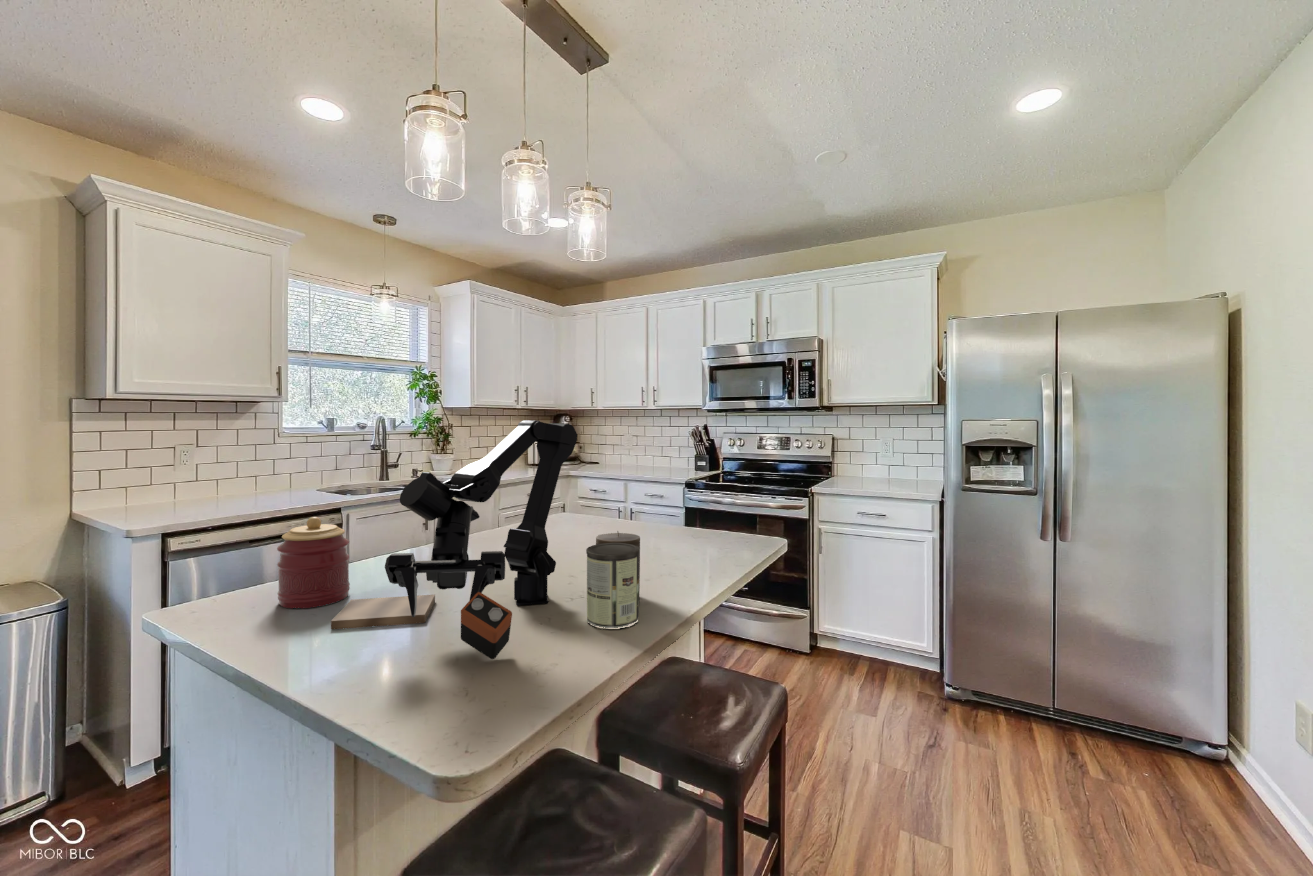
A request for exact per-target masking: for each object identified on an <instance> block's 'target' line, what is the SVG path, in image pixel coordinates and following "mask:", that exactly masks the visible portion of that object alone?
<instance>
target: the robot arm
mask: <svg viewBox="0 0 1313 876" xmlns="http://www.w3.org/2000/svg"><path fill="white" fill-rule="evenodd" d="M577 441H578V433H577V430H576V429H575V427H574V426H573V425H572V424H571V423H549V422H548V423H547V422H542V421H540V420H533V419H532V420H529V419H525V420H522V421H520V422H518V424H517V426H516V428H514V429H513V430H512V431H511V432H510V433H509V434H508V435H506V437H505V438H503V439H502V440H501V441H500V442H499V443H498V444H497V445H496V446H495V447H494V448H493V449H492V450H490V451H489V452H488V453H487V454H486V455H485V456H484V457H483V458H481V459H479V460H476V461H474V462H471V463H469V464H467V465H466V466H464V467H462V468H461V469H459V470H457V471H456V472H455V473H454V474H453V475H452V476H451V478H450V479H447V480H445V481H443V482H442V481H440V480H439V479H438V478H437V477H436V476H435V475H434V474H432V473H431V472H426V471H425V472H424V471H423V472H421V473H420V475H419V476H418V477H416V478H415V479H412V481H410V482H409V483H408V484H407V485H405V486H404V488H402V491H401V493H400V496H399V503H400V505H401V506H403V507H405V508H407V509H408V510H410V511H411V512H413V513H414V514H416V515H418V516H419V517H421V518H423V519H424V520H425V521H429V522H430V521H434V520H436V519H437V520H436V527H435V534H434V539H433V545H432V552H431V559H430V560H416V558H415V554H414V552H407V553H405V552H404V553H403V552H399V553H393V552H392V553H391V554H390V555H388V556H387V557H386V560H385V562H384V563H385V564H384V570H385V573H386V576H387V578H388V582H389V584H393V585H396V584H397V585H398V586H399V587H401V588H405V589H406V593H407V596H408V599H409V605H410V610H411V615H412V617H415V613H416V607H417V596H418V588H419V582H418V579H417V577H418V576H417V575H418V574H425V575H426V582H432V583H433V584H434V583H436V587H437V588H438V589H439V590H446V589H448V590H449V589H457V590H462V589H464V588H465V587H466V583H467V577H468V573H469V572H471V573H474V575H473V578H472V579H473V580H472V585H471V589H470V594H469V595H470V596H469V601H470V600H471V599H472V598H473V597H474V595H475V594H476V593H478V592H480V593H482V594H483V591H484V590H485V588H486V587H487V586H488V585H493V584H495V581H503V580H505V579H506V562H508V566H509V570H510V571H511V572H517V574H516V576H517V577H516V576H515V577H514V580H513V590H514V591H513V592H514V593H513V594H514V595H513V596H514V597H513V598H514V600H515V601H516V602H515V603H516V606H525V605H528V606H529V605H540V604H541V605H545V604H548V603H549V597H548V576H551V574H552V573H554V572H555V569H556V565H557V562H556V560H555V559H554V557H552V556H551V555H550V554H549V553H548V548H549V547H548V546H549V539H548V536H547V531H546V525H547V521H548V519H549V518H548V517H549V513H550V509H551V505H552V502H553V499H554V495H555V491H556V487H557V484H558V480H559V476H560V474H561V473H560V472H561V468H562V466H563V464H564V463H565V461H567V460H568V458H569V457H570V456H571V455H572V453H573V452H574V449H575V447H576V444H577ZM534 443H536V449H537V453H538V458H539V462H538V464H537V467H536V472H535V474H534V479H533V482H532V486H531V489H530V493H529V497H528V499H527V500H528V501H527V503H526V506H525V511H524V514H523V517H522V520H521V523H520V524H519V525H518V526H517V527H516V528H513V527H511V528H510V529H508V531H507V532H508V533H507V537H506V540H505V543H504V545H503V548H504V552H503V551H502V550H501V551H500V550H498V551H497V550H495V551H494V550H492V551H491V550H490V551H481V552H480V559H470V558H469V553H468V548H469V539H470V531H471V522H473V521H475V520H479V518H480V514H479V513H478V512H477V511H476V510H475V508H474V506H473V505H472V506H471V505H469V504H468V503H466V502H474V503H486V502H487V501H488V500H490V499H491V498H492V496H493V495H494V494H495V492H496V490H498V488H499V487H500V485H501V478H502V476H503V475H504V474H505V472H506V471H507V470H508V469H509V468H510V467H512V465H513V464H515V462H516V461H517V460H519V458H521V456H523V454H524V453H525V452H526V451H528V450H529V448H531V446H533V445H534ZM465 501H466V502H465ZM469 601H468V602H469Z"/></svg>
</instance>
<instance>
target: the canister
mask: <svg viewBox="0 0 1313 876" xmlns="http://www.w3.org/2000/svg"><path fill="white" fill-rule="evenodd" d="M345 533H346V531H345V529H343V528H341V527H339V526H338V525H337V524H330V523H322V520H321V519H320V518H319V517H317V516H311V517H309V518H308V520H307V521H306V525H301V526H296V527H293V528H291V529H289V531H288V532H285V533H284V534H282V536H281V539H283V540H284V541H283V543H281V544H279V545H278V546H277V548H276V551H278V552H279V553H280V556H279V561H278V562H277V564H276V565H277V568H278V569H277V570H278V572H277V573H278V576H277V577H278V591H277V600H278V603H279V606H280V607H282V608H285V609H293V608H296V610H297V608H301V609H312V608H318V607H317V606H319V607H323V605H324V606H327V605H326V604H328V605H332V604H334V603H335V604H336V603H338V602H340V601H342V600H344V599H346V598H347V597H349V591H350V589H351V588H350V585H351V584H350V581H349V579H350V577H349V574H350V571H349V567H350V566H349V562H350V561H349V559H350V554H349V553H348V551H347V550H348V549H347V548H348V547H347V546H348V545H349V544H350V540H349V539H347V538H346V537H344V536H343V534H345ZM345 597H346V598H345ZM337 601H338V602H337ZM331 603H332V604H331ZM311 607H312V608H311Z"/></svg>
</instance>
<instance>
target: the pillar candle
mask: <svg viewBox="0 0 1313 876" xmlns="http://www.w3.org/2000/svg"><path fill="white" fill-rule="evenodd" d="M603 543H626V544H632V545H635V546H637V547H639V548H640V549H641V537H640V535H638V534H634V533H627V532H625V533H624V532H619V530H617V532H611V533H603V534H597V535H596V537H595V545H596V544H603ZM640 574H641V551H640V552H639V590H640V587H641V586H640V585H641V584H640V581H641V578H640V577H641V575H640Z"/></svg>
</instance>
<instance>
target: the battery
mask: <svg viewBox="0 0 1313 876" xmlns="http://www.w3.org/2000/svg"><path fill="white" fill-rule="evenodd" d="M469 600H470V599H469ZM512 618H513V612H512V611H511V610H510V609H508V608H506V606H503V605H502V604H500V603H498V602H497V601H495V600H493V599H492V598H491V597H489V596H487V595H486V594H484V593H483V592H482V593H480V592H478V593H476V594H475V595H474V597H473V598H472V599H471V600H470V601H468V602H467V603H466V604H465V605H464V606H463V607H462V609H461V610H460V640H462V642H464V643H466V644H467V645H468V646H470V647H472V648H473V649H475V650H476V651H477V652H479V653H481V654H482V655H483V656H486V657H487V658H489V659H491V660H495V659H496V657H498V655H499V654H500V652H502V650H503V649H504V647H505V646H506V645H508V643H509V641H510V635H511V625H512V620H513V619H512Z"/></svg>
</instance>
